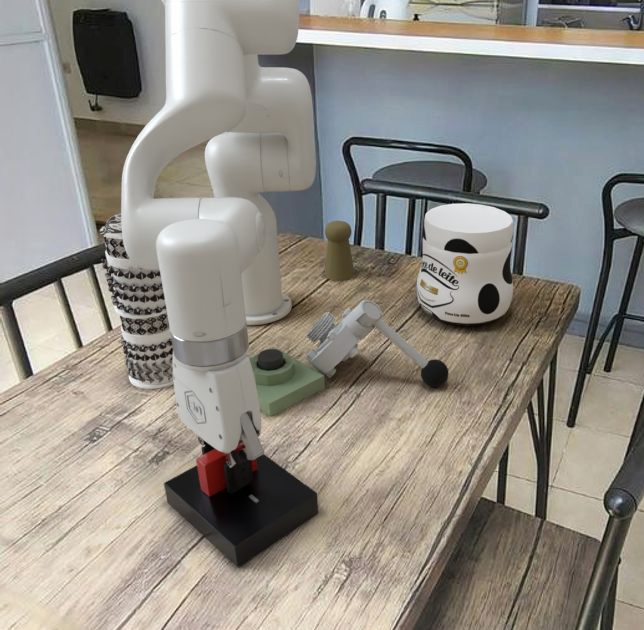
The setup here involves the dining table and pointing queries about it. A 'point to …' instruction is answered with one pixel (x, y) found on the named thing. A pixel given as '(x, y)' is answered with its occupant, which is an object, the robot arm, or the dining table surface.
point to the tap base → (244, 509)
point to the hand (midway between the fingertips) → (229, 476)
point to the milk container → (466, 264)
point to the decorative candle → (138, 313)
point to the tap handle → (215, 470)
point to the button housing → (285, 384)
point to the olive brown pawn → (338, 251)
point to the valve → (354, 327)
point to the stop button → (270, 359)
